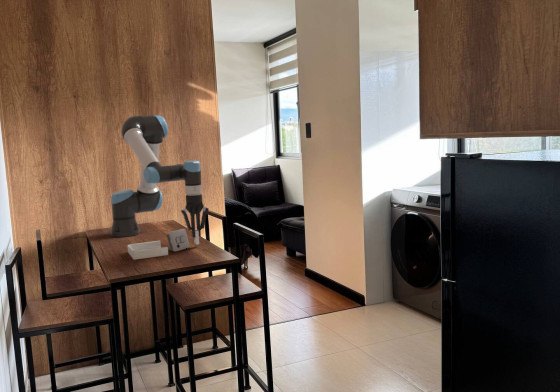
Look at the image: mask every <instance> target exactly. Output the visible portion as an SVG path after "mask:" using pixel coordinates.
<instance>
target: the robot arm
mask: <svg viewBox="0 0 560 392" xmlns="http://www.w3.org/2000/svg"><path fill="white" fill-rule="evenodd" d="M120 132H121V134H120V135H121V137H122V139H123V141H124V143H126V144H127V145H129V146H130V148H131V150H132V151H133V152H134V154H135V156H136V157H137V159H138V161H139V163H140V164H141V168H140V184H139V185H138V186H137V187H136V191H134V190H133V189H123V190H120V191H119V190H118V191H115V192H113V193H112V194H111V196H110V204H111V212H112V213H111V214H112V215H111V216H112V224H111V228H110V237H113V238H115V237H116V238H124V237H125V238H126V237H131V236H132V237H133V236H136V235H140V233H141V230H140V226H139V224H138V222H137V219H136V214H142V213H148V212H155V211H158V210H160V208H161V207H162V205H163V200H164V198H163V193H162V191H161V190H160V188H159V186H157V184H160V183H168V182H179V181H184V188H185V189H184V190H185V191H184V192H185V208H183V209H181V210H180V213H181V214H182V216H183V218H184V221H185V224H186V228H187V230H189V231H191V237H192V238H193V239H194V240H193V241H194V244H195V245H200V237H201V235H202V234H201V230H202V229H205V227H206V226H205V225H206V220H207V219H206V218H207V214H208V211H209V208H208V207H206V206H205V205H204V203H203V194H202V193H203V189H202V168H201V163H200V161H199V160H186V161H184V162H183V164H182V163H178V164H172V165H171V164H170V165H162V163H160V160H159V157H160V145H161V144H163V141H164V139H165V138H167V136H168V135H169V134H168V132H169V127H168V123H167V121H166V119H165V117H163V116H161V115H154V114H153V115H132V116H130V117H128V118H126V120H125V121H124V122H123V123H122V126H121V130H120ZM201 212H202V215H201ZM188 213H189V215H190V216H188ZM189 217H190V220H189ZM195 223H196V224H195Z"/></svg>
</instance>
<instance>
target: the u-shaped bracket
mask: <svg viewBox="0 0 560 392" xmlns="http://www.w3.org/2000/svg"><path fill="white" fill-rule="evenodd" d="M127 253H128V254H129V256H130V257H131V258H132V260H140V259H141V260H142V259H148V258H155V257H162V256H163V257H164V256H169V248H168V246H162V244H161V240H155V241H147V242H140V243H139V242H137V243H130V244H127Z"/></svg>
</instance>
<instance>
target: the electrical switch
mask: <svg viewBox="0 0 560 392" xmlns="http://www.w3.org/2000/svg"><path fill="white" fill-rule="evenodd" d="M166 237H167V242H168V245H169V249H170V251H171V252H172V251H173V252H179V251H183V250H186V248H187V249H189V248H190V247H191V246H190V242H189V238H188V235H187V230H186V228H182V229H181V228H180V229H177V230H173V231H172V230H171V231H169V232H168V234H166Z"/></svg>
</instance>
